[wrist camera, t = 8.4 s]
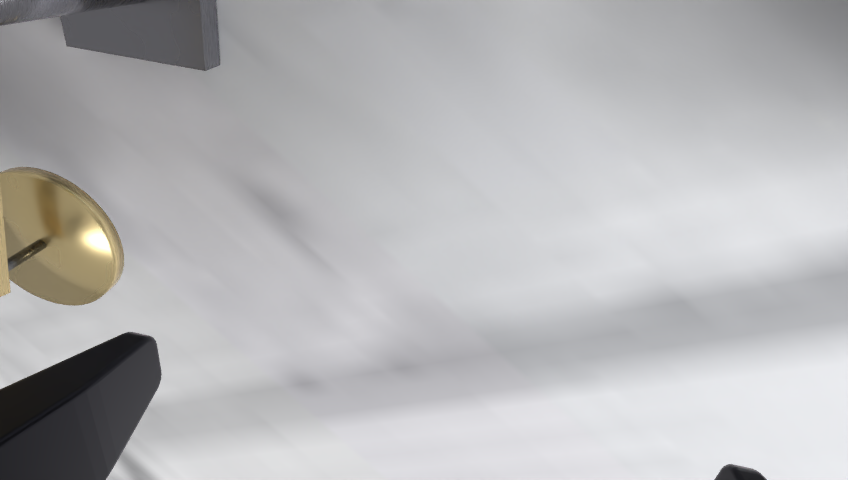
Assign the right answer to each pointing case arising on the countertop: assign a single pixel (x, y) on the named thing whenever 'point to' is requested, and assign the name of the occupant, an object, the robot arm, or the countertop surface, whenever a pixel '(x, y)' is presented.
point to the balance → (59, 198)
